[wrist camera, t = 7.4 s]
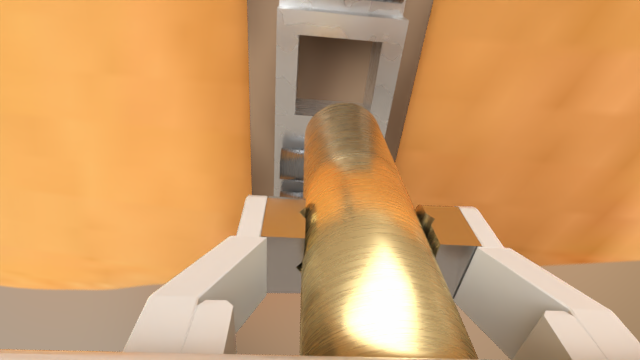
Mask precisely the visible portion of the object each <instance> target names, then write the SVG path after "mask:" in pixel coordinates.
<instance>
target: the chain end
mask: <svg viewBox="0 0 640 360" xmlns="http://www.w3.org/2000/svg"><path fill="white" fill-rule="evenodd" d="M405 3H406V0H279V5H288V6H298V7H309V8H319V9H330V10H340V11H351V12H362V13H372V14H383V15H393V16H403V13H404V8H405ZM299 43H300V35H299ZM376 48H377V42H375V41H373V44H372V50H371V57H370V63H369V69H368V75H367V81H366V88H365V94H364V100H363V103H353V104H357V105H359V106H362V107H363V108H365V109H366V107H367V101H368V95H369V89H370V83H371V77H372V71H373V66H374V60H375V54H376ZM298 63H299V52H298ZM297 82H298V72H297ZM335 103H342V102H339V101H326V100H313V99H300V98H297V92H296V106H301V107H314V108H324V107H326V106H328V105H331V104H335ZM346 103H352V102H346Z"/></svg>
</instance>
